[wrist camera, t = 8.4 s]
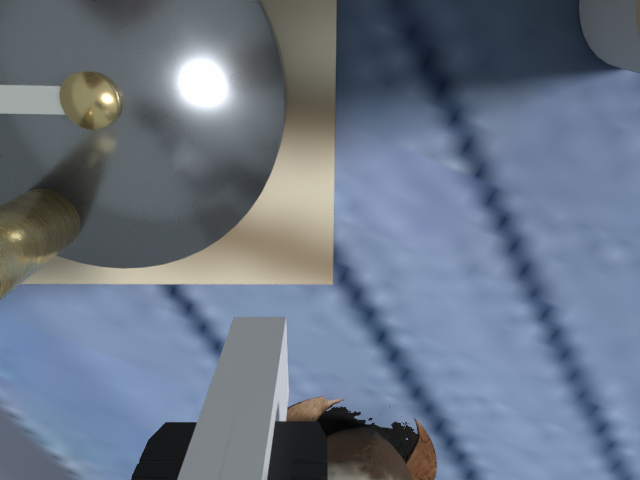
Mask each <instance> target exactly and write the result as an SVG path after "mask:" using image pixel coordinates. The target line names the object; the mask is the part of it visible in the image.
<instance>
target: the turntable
mask: <svg viewBox="0 0 640 480" xmlns="http://www.w3.org/2000/svg"><path fill="white" fill-rule="evenodd" d="M286 110H287V88H286V74H285V69H284V64H283V59H282V54H281V49H280V46H279V43H278V40H277V37H276V34H275V31H274V28H273V25H272V23H271V21H270V18H269V16H268V14H267V12H266V10H265V8H264V6H263V3H262V1H261V0H0V300H1V299H2V298H4V297H5V296H6V295H7V294H9V293H10V292H11V291H12V290H14V289H15V288H16V287H17V286H19V285H20V284H21V283H22V282H24V281H25V280H26V279H27V278H29V277H30V276H31V275H32V274H33V273H35V272H36V271H37V270H38V269H40V268H41V267H42V266H43V265H45V264H46V263H47V262H48V261H50V260H51V259H52V258H53V257H55V256H58V257H62V258H65V259H68V260H72V261H75V262H78V263H83V264H88V265H94V266H99V267H108V268H122V269H126V268H145V267H151V266H157V265H163V264H167V263H171V262H174V261H177V260H181V259H184V258H186V257H189V256H191V255H193V254H195V253H197V252H200V251H202V250H204V249H205V248H207V247H208V246H210V245H212V244H213V243H215V242H216V241H218V240H220V239H221V238H222V237H223V236H225V235H226V234H227V233H228V232H229V231H230V230H232V229H233V228H234V227H235V226H236V225H237V224H238V223H239V222H240V221H241V220H242V219H243V217H244V216H245V215H246V214H247V213H248V212H249V211H250V209H251V208H252V206H253V205H254V203H255V202H256V200H257V199H258V197H259V196H260V194H261V193H262V191H263V189H264V187H265V185H266V183H267V181H268V179H269V177H270V174H271V172H272V170H273V167H274V164H275V161H276V158H277V155H278V152H279V149H280V146H281V143H282V139H283V133H284V128H285V123H286Z"/></svg>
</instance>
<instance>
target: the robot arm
mask: <svg viewBox="0 0 640 480" xmlns="http://www.w3.org/2000/svg"><path fill="white" fill-rule="evenodd" d="M288 398H289V383H288V356H287V330H286V317H234V319H233V322H232V324H231V327H230V330H229V333H228V336H227V339H226V342H225V344H224V347H223V350H222V353H221V356H220V359H219V362H218V364H217V367H216V370H215V373H214V376H213V379H212V382H211V384H210V387H209V390H208V393H207V396H206V399H205V402H204V404H203V407H202V410H201V413H200V416H199V419H198V422H166V423H165V424H164V425H163V426H162V427H161V428H160V429H159V430H158V431H157V432H156V433H155V434H154V435H153V436H152V437H151V438H150V439H149V440H148V442H147V445H146V447H145V449H144V451H143V453H142V455H141V458H140V460H139V464H137V466H136V469H135V471H134V473H133V475H132V479H131V480H328V464H327V437H326V435H325V433H324V431H323V430H322V428H321V426H320V424H319V422H318V421H286V416H287V407H288Z"/></svg>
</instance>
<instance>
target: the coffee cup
mask: <svg viewBox="0 0 640 480" xmlns="http://www.w3.org/2000/svg"><path fill="white" fill-rule="evenodd" d="M579 14H580V23H581V27H582V30H583V34H584V37H585V39H586V41H587V43H588V45H589V47H590V48H591V50H592V51H593V52H594V53H595V54H596V56H597V57H598V58H600V59H601V60H603V61H604V62H606V63H607V64H609V65H612V66H616V67H619V68H622V69H626V70H629V71H633V72H637V73H640V0H579Z"/></svg>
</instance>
